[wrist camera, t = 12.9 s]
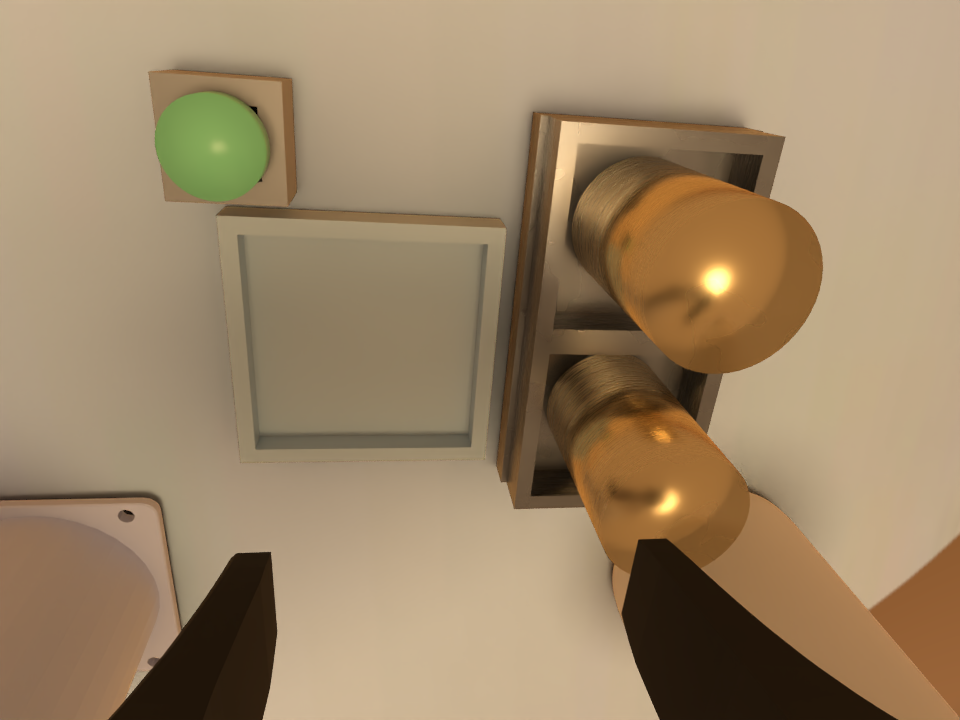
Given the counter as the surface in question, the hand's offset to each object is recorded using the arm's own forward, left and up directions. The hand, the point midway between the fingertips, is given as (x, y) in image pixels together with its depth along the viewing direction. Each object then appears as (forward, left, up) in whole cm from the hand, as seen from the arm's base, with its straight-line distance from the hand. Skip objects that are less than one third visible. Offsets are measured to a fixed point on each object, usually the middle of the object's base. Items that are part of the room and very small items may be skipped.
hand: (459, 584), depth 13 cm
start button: (-6, +7, -10) cm, 13 cm away
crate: (+6, +2, -10) cm, 12 cm away
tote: (-2, +1, -10) cm, 10 cm away
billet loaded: (+6, -1, -9) cm, 11 cm away
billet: (+6, +5, -9) cm, 12 cm away
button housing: (-6, +7, -10) cm, 13 cm away
